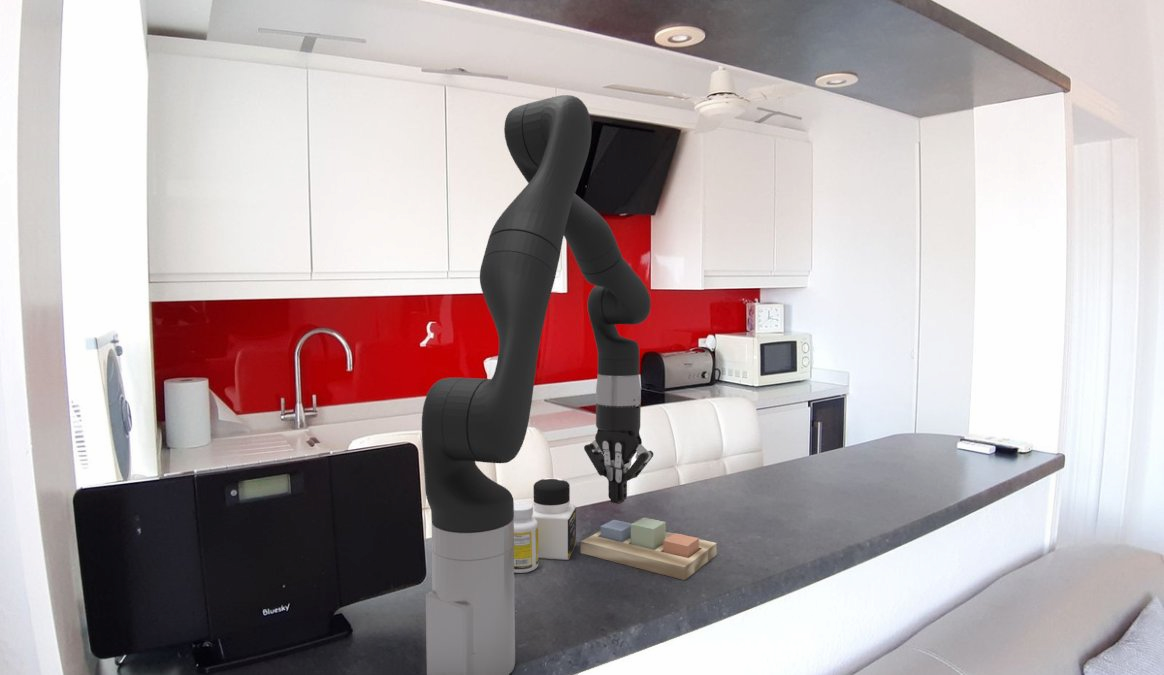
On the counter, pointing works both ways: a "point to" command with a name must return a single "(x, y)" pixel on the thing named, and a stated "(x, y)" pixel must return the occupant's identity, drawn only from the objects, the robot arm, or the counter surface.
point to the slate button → (616, 530)
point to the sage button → (648, 533)
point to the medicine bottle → (554, 519)
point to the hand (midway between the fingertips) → (617, 502)
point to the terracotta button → (681, 545)
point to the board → (649, 556)
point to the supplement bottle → (525, 538)
